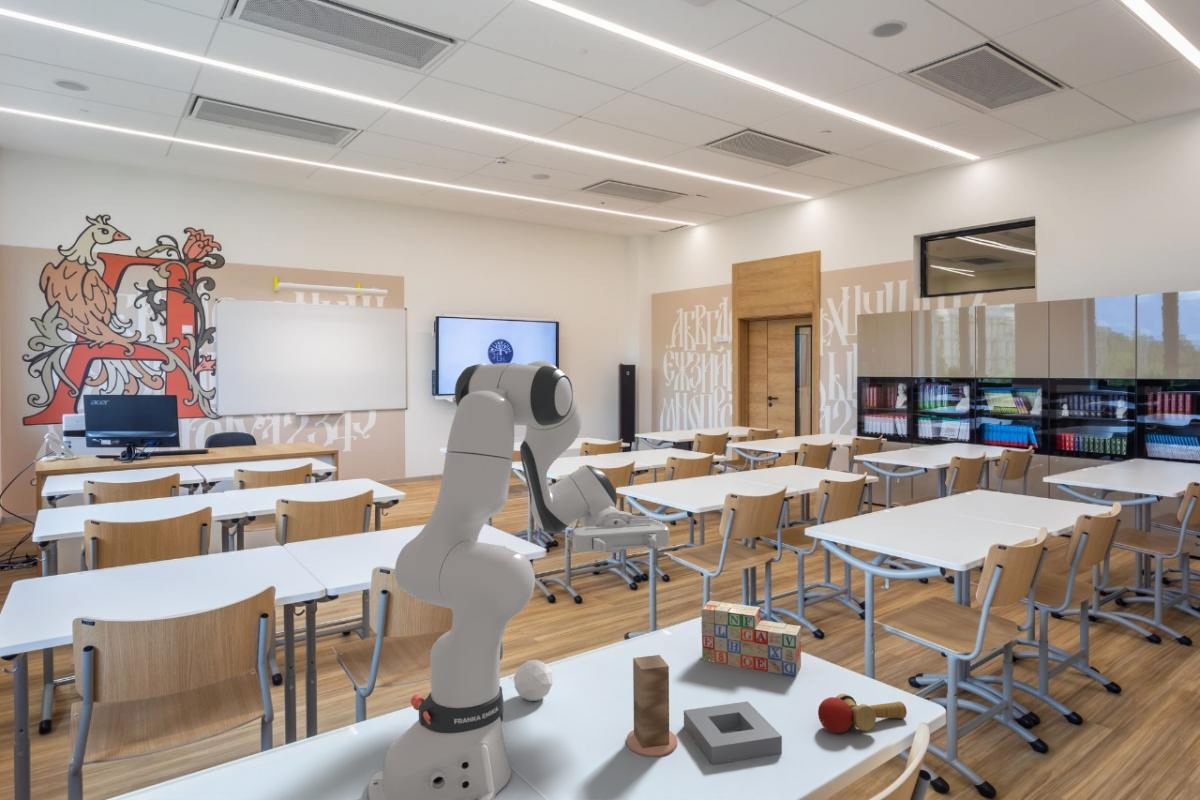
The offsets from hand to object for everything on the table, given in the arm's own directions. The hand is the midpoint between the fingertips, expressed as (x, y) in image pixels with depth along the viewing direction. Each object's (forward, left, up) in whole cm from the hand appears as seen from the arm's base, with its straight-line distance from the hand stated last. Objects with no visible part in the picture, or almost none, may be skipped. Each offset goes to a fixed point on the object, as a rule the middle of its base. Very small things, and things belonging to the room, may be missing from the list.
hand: (630, 546), depth 134 cm
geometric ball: (-16, +13, -32) cm, 38 cm away
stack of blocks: (+34, +4, -32) cm, 47 cm away
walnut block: (-4, -13, -31) cm, 34 cm away
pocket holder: (+9, -19, -32) cm, 38 cm away
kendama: (+34, -27, -32) cm, 54 cm away
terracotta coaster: (-4, -13, -32) cm, 35 cm away
